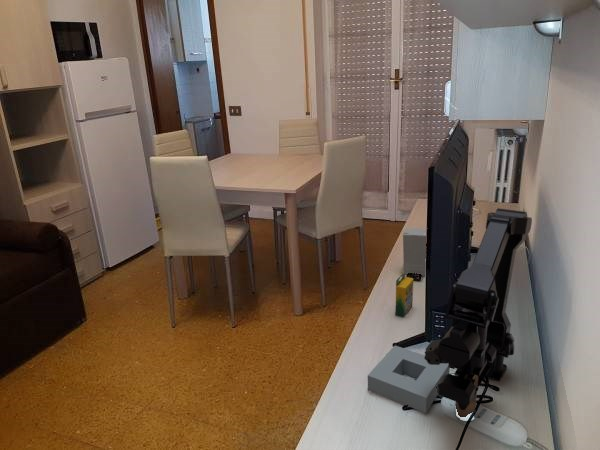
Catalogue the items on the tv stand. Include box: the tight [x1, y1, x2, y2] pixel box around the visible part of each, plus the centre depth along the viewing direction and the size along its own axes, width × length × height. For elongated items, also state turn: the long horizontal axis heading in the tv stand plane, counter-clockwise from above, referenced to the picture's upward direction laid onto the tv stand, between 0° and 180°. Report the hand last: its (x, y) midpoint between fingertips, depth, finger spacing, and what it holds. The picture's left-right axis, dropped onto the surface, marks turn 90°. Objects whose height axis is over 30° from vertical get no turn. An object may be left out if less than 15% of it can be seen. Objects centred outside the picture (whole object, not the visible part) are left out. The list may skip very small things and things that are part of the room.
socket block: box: [367, 345, 451, 414], centre depth 108 cm, size 14×14×4 cm
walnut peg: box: [455, 375, 479, 417], centre depth 97 cm, size 4×4×10 cm
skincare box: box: [402, 227, 427, 277], centre depth 162 cm, size 8×7×16 cm
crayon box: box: [394, 270, 414, 318], centre depth 138 cm, size 7×3×12 cm, turn 148°
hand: (465, 403), depth 97 cm, fingers closed on walnut peg, 4 cm apart
